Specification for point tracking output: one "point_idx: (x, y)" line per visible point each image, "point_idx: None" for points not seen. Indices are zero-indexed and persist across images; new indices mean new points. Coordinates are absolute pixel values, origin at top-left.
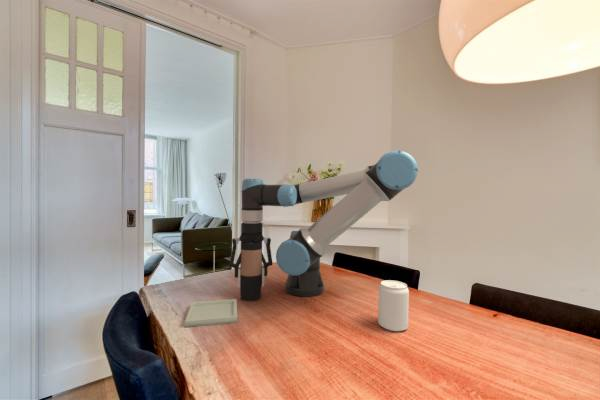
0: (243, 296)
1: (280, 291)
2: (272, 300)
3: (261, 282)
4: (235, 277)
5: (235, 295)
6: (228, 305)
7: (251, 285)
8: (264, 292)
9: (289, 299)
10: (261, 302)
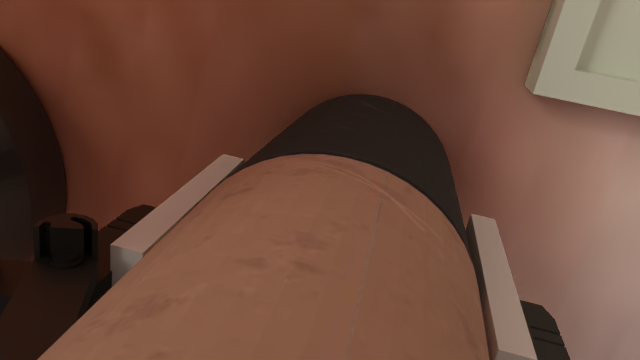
0: (441, 147)
1: (106, 201)
2: (206, 37)
3: None
4: (539, 308)
5: None
6: (633, 29)
7: (366, 127)
8: None
9: (69, 2)
10: (305, 29)
